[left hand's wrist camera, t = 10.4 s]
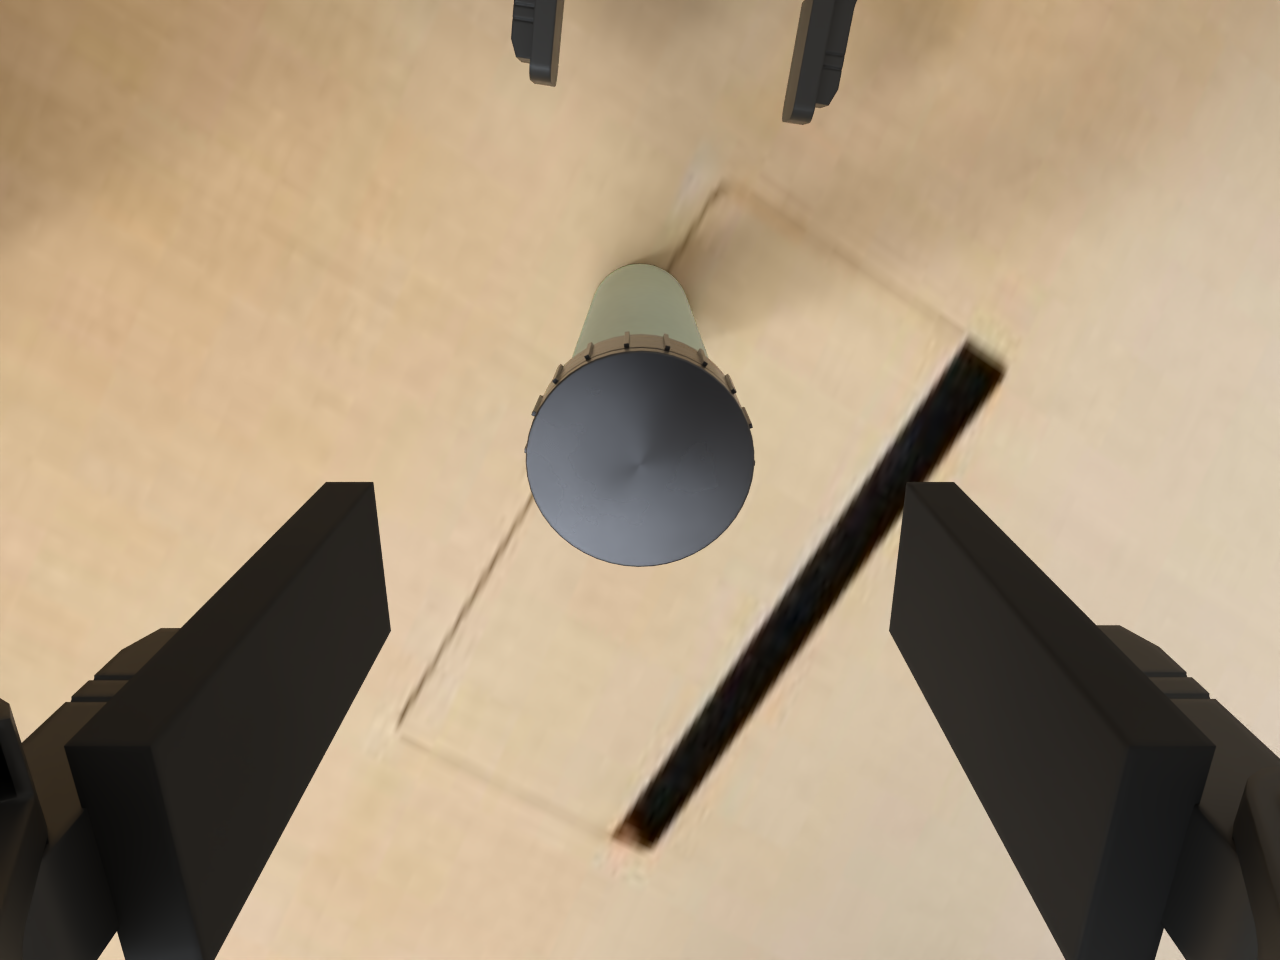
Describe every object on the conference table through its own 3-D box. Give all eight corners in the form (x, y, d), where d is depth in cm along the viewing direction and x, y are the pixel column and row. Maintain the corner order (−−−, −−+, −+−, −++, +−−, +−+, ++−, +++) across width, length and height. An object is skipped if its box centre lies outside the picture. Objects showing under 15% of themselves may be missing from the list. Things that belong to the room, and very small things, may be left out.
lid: (737, 317, 19) (748, 334, 17) (753, 524, 21) (763, 558, 19) (517, 343, 19) (504, 361, 17) (551, 545, 21) (543, 581, 19)
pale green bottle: (684, 257, 36) (729, 351, 18) (693, 356, 38) (743, 535, 19) (584, 269, 36) (528, 373, 18) (597, 367, 38) (558, 555, 20)
